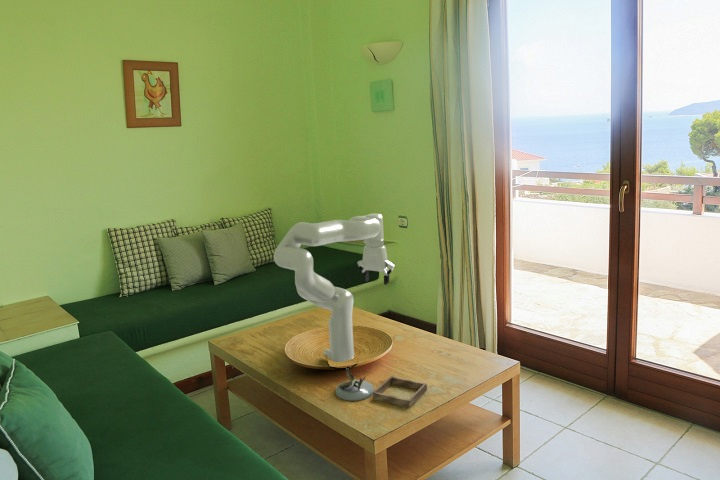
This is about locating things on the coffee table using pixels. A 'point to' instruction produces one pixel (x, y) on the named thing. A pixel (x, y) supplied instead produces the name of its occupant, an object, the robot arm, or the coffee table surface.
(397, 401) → the walnut frame
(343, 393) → the grey round plate
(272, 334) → the coffee table surface
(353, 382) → the eagle figurine
